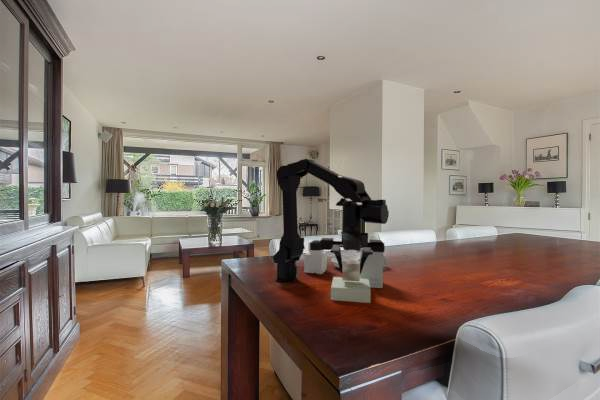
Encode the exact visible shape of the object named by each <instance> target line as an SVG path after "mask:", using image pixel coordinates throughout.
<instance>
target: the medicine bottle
mask: <svg viewBox="0 0 600 400" xmlns="http://www.w3.org/2000/svg"><path fill="white" fill-rule="evenodd" d="M320 240H321V239H320ZM320 240H319V239H315V240H314V239H312V240H308V241H307V242H308V243H307V245H308V246H307V251H308V252H306V253H304V261H303V262H304V263H303V264H304V266H303V268H304V270H303V271H304V273H305V274H314V273H316V274H317V275H323V274H324V273H325V272H326V271H327V261H328V260H327V257H328V253H327V252H326V251H325V250H321V249H320Z"/></svg>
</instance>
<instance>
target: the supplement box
mask: <svg viewBox="0 0 600 400" xmlns="http://www.w3.org/2000/svg"><path fill="white" fill-rule="evenodd" d="M361 250H362V248H361ZM361 250H360V251H359V252H360V258H361ZM372 252H373V251H372ZM383 255H384V252H373V254H372V255H369V256H368V257H367V259H366V261H365V263H364V266H363V269H362V272H361V274H360V279H369V284H370V288H373V289H374V288H377V289H382V288H384V287H383V286H384V284H383V283H384V279H383V278H384V266H383Z"/></svg>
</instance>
